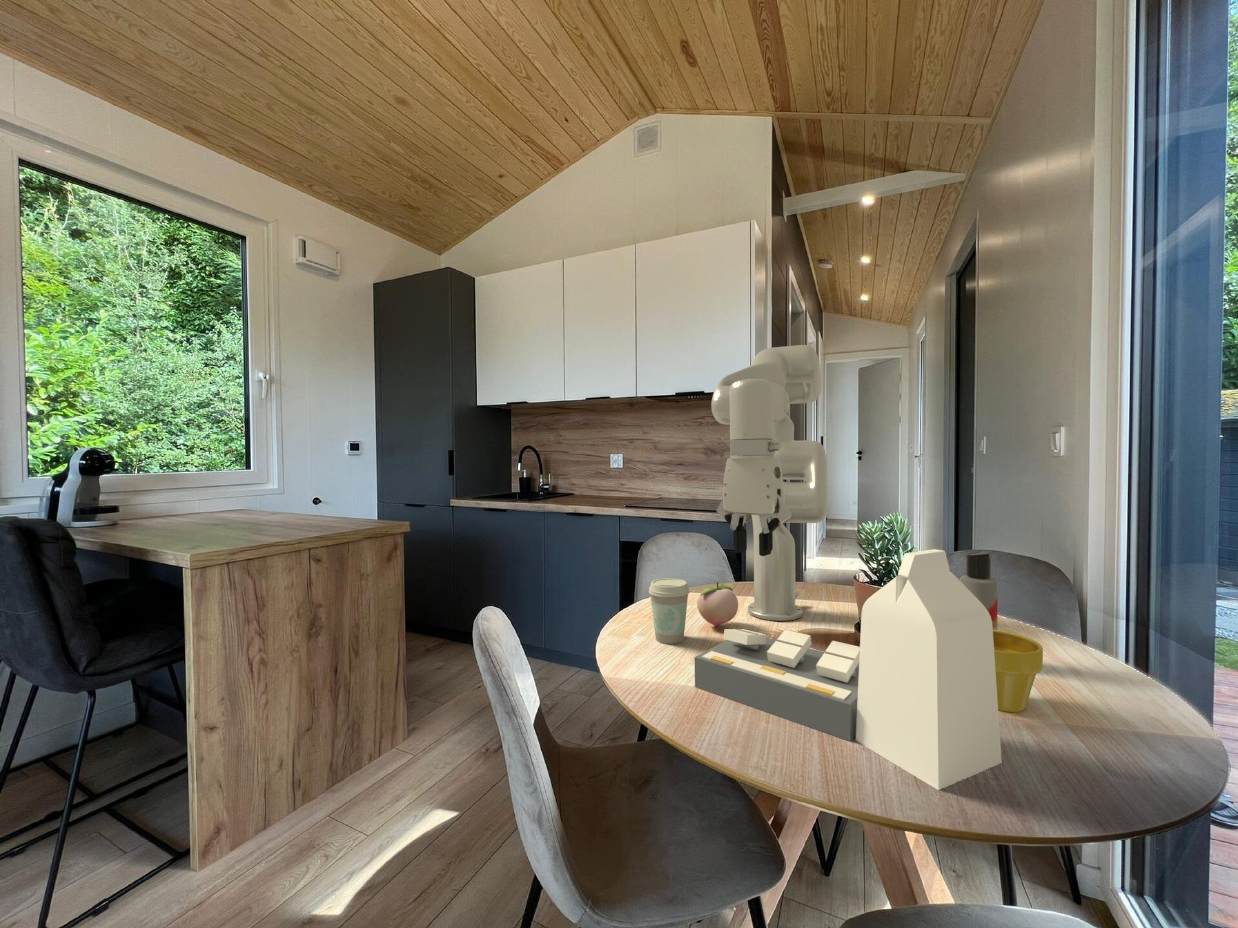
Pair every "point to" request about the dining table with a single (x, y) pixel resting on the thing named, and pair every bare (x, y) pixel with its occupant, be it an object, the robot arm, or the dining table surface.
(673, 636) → the coffee cup
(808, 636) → the rocker
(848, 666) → the rocker
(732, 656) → the switch unit
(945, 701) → the milk
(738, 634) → the rocker
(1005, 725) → the dining table surface
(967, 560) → the lotion bottle
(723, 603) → the decorative fruit
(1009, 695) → the plant pot
